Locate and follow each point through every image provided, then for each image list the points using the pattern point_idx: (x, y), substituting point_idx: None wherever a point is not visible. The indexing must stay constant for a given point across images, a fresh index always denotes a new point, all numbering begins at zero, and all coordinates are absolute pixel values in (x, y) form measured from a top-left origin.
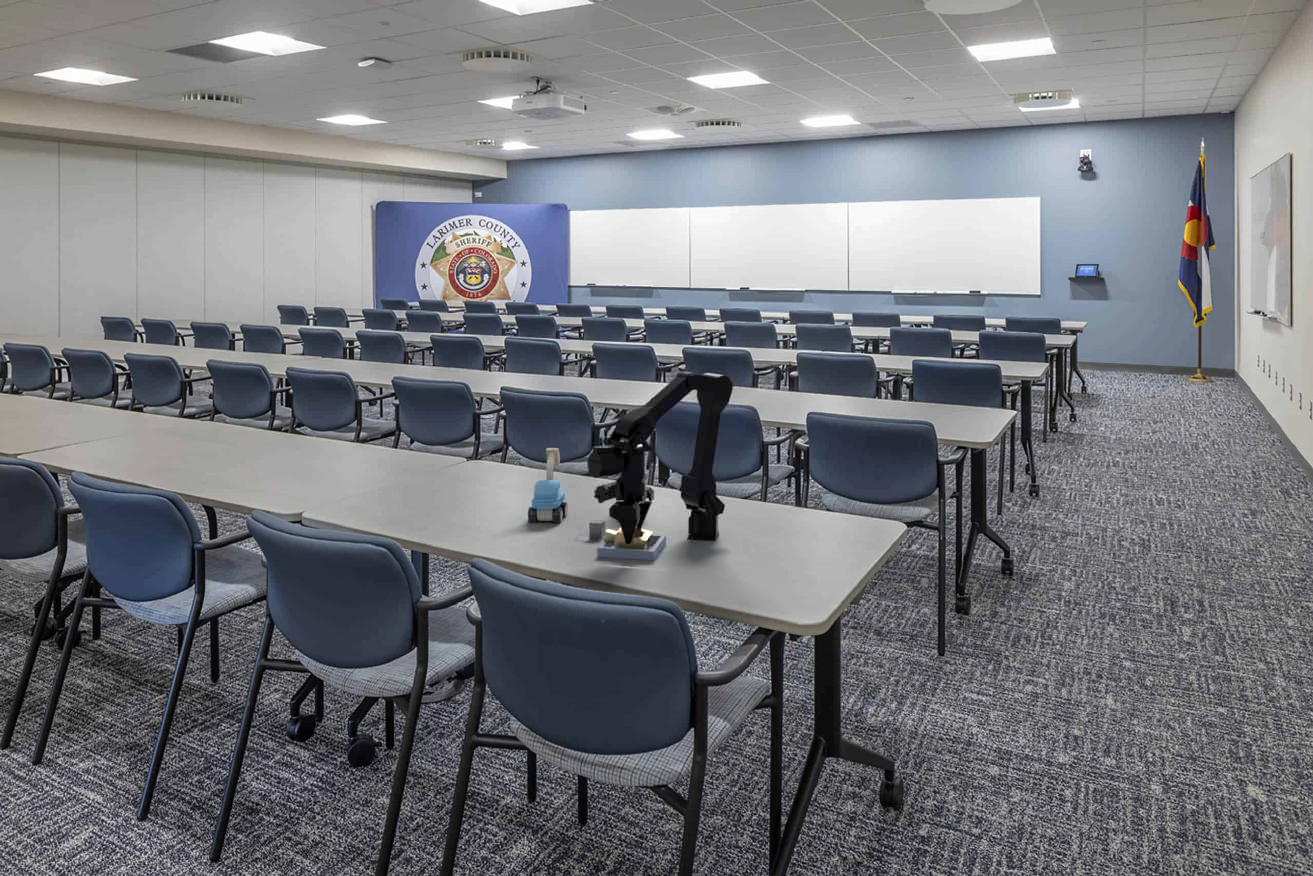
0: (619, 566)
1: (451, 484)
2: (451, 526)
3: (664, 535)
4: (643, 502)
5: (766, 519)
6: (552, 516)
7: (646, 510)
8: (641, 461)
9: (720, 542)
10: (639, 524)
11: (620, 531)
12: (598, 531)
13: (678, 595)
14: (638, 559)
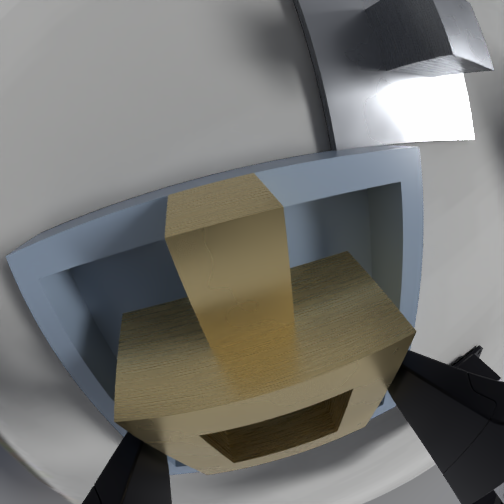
0: (44, 371)
1: None
2: None
3: (391, 406)
4: (497, 492)
5: (501, 374)
6: None
7: (452, 480)
8: None
9: (406, 428)
10: (406, 404)
11: (173, 426)
12: (406, 45)
13: (51, 482)
14: None
